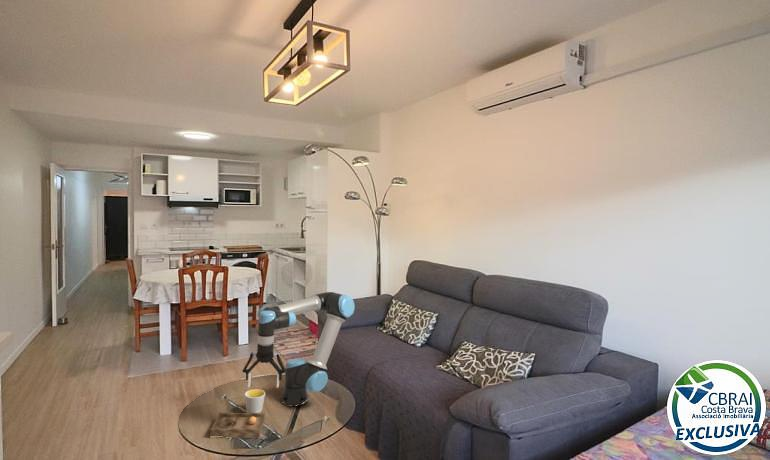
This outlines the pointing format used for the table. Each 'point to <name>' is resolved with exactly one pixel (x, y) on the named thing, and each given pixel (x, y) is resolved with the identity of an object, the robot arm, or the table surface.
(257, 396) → the mug
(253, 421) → the ball
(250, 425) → the board
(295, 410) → the table surface
